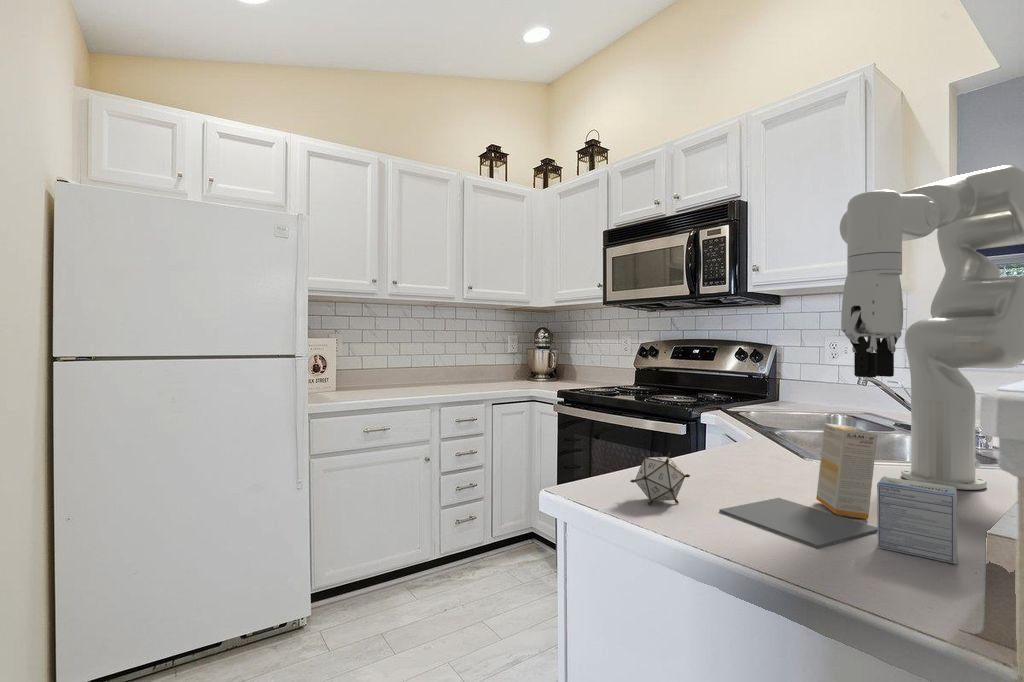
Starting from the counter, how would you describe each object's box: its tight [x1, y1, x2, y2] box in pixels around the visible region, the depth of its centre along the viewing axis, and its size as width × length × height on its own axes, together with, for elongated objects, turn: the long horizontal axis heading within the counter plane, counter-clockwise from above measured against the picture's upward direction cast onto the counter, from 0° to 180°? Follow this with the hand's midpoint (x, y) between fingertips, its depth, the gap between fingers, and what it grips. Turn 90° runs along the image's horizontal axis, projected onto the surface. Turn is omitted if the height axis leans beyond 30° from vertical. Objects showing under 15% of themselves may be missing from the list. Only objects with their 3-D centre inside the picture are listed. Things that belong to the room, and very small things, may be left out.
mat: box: [718, 497, 878, 549], centre depth 77 cm, size 14×16×1 cm
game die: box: [629, 452, 691, 506], centre depth 86 cm, size 9×8×10 cm
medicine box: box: [876, 476, 958, 565], centre depth 66 cm, size 8×4×9 cm, turn 48°
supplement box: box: [815, 423, 878, 520], centre depth 82 cm, size 8×5×13 cm, turn 168°
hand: (874, 375), depth 86 cm, fingers open, 4 cm apart
